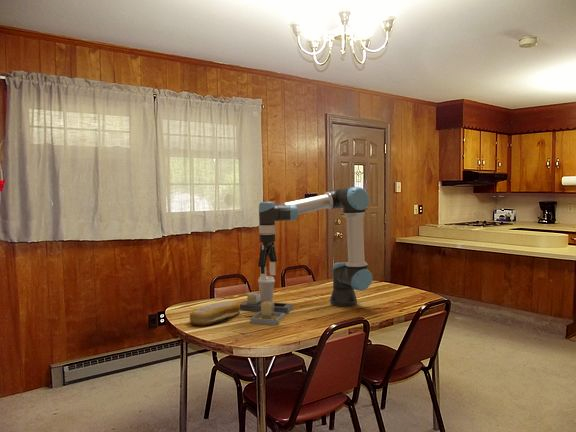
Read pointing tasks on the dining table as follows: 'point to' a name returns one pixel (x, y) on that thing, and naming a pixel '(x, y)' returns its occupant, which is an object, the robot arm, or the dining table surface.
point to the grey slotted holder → (277, 307)
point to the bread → (214, 313)
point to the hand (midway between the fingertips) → (268, 277)
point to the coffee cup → (266, 289)
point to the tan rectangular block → (267, 310)
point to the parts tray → (266, 321)
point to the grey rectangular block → (253, 298)
